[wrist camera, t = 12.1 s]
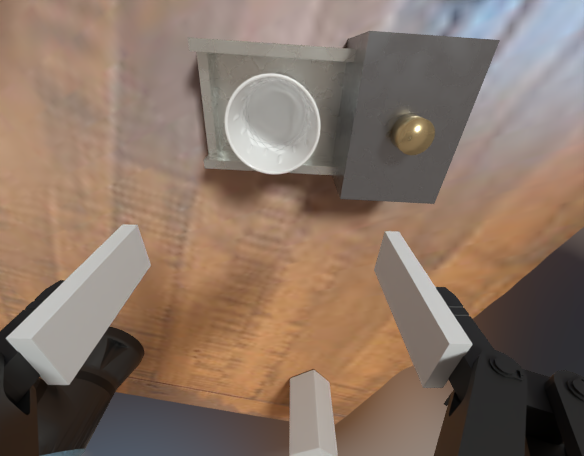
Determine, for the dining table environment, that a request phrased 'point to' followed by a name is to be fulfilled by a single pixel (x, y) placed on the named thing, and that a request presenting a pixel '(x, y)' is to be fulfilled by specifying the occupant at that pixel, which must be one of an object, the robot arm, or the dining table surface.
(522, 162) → the dining table surface
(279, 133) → the white cup
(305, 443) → the white milk carton
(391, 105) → the grey cabinet
